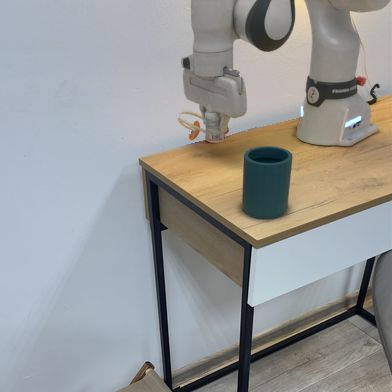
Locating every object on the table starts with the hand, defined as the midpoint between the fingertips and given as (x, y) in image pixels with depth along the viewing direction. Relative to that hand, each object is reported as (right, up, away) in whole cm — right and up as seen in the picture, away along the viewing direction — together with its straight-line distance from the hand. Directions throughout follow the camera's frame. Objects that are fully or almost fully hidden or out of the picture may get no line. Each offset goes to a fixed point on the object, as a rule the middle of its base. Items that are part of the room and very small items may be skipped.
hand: (215, 127), depth 118 cm
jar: (+10, -24, -17) cm, 31 cm away
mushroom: (-9, +6, +7) cm, 13 cm away
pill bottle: (0, -2, +2) cm, 3 cm away
